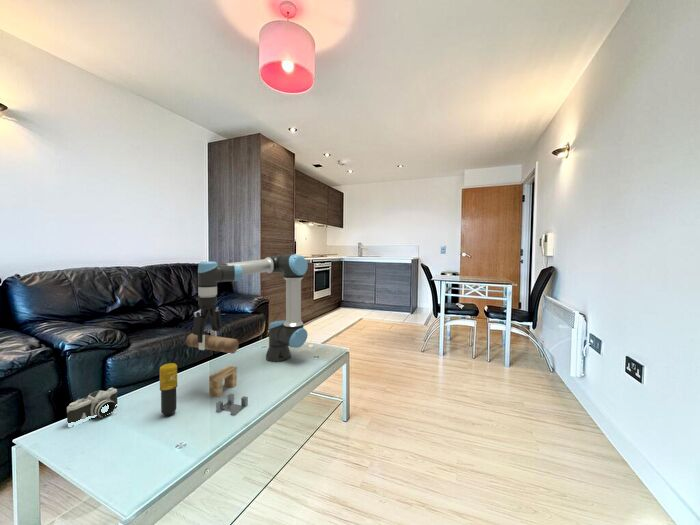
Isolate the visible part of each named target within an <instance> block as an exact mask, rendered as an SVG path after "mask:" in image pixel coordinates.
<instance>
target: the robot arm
mask: <svg viewBox="0 0 700 525" xmlns="http://www.w3.org/2000/svg"><path fill="white" fill-rule="evenodd" d="M308 265H309V264H308V261H307V260H306V258H305V257H304V256H303V255H301V254H295V253H294V254H279V255H273V256H266V257H265V258H264V259H254V260H245V261H237V262H236V261H235V262H226V263H218V262H217V261H200V262H198V268H197V277H198V278H197V280H198V288H197V289H198V293H197V294H198V299H197V301H198V302H197V304H198V306H199V308H198V310H197V311H193V312H192V314H193V330H192V333H193V334H194V335H197V336H198V343H199V348H198V350H199V351H205V350H206V349H205V335H206V334H204V332H205V329H206V328H205V327H206V324H207V321H208V319H209V322H210V327H211V330H210V336H217V337H218V331H220V329H222V316H221V315H222V312H221V311H222V307H220V306H217V304H218V297H217V295H218V283H223V282H224V283H225V282H235V281H237V282H238V281H241V280H242V278H243V276H247V275H255V274H260V273H261V274H263V273H267V274H274V273H275V274H283V275H282V278H283V279H284V280H285V319H284V320H275V321H272V322H270V323H269V325H268V349H267V351H266V354H265V360H266V361H267V362H270V363H283V362H287V361H289V360H291V358H292V353H291V350H290V348H294V349H296V348H297V349H298V348H302V346H303V345H304V344H305V343H306V341H307V339H308V331H307V329H306V328H304V322H303V321H302V280H303V279H304V275H305V274H306V273H307V271H308ZM288 359H289V360H288ZM286 360H287V361H286Z"/></svg>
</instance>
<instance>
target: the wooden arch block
mask: <svg viewBox="0 0 700 525" xmlns="http://www.w3.org/2000/svg"><path fill="white" fill-rule="evenodd" d="M237 368H238V367H237V366H233V365H232V366H231V365H227V366H225V367H223V368H221V369H219V370H218V371H215V372H214V373H212V374H210V375H209V376H208V377H209V378H208V381H209V382H208V388H209V389H208V390H209V391H208V392H209V393H208V394H209V396H210V397H217V398H219V397H220V396H222V395H223V386H224V387H227V388H235V387H237V380H238V377H237V376H238V375H237V373H238V370H237ZM223 380H224V384H223Z"/></svg>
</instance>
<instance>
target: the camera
mask: <svg viewBox="0 0 700 525" xmlns="http://www.w3.org/2000/svg"><path fill="white" fill-rule="evenodd" d="M107 404H108V405H109V409H108V411H107V412H105V413H102V412H101V409H102V407H104V406H105V405H106V406H107ZM116 404H118V389H117V388H114V387H110V388H108V389H106V390H95V391H93V392H90V393H89V394H88V396H86V397H83V398H80V399H79V398H78V399H77V400H75V401H73V402H71V403H69V405H68V406H66V419H67V420H66V423H67V422H68V423H71V422H76V421H78V420H80V419H85V418H86V417H88V416H94V415H97V416H98V417H99V418H103V417H102V416H105V415H107V414H109V413H111V412H112V413H113V412H114V410H115V409H116V408H115V405H116ZM112 413H111V414H112ZM98 417H97V418H98Z"/></svg>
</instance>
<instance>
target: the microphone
mask: <svg viewBox="0 0 700 525" xmlns="http://www.w3.org/2000/svg"><path fill="white" fill-rule="evenodd" d="M177 388H178V365H177V364H176V363H173V362H171V363H165V364H163V365H161V366H160V367H159V391H160V411H161V412H160V413H161V414H162V415H163V416H164V417H166V418H168V417H171V416H173V415H174V414H175V412H176V410H177V407H178V406H177Z"/></svg>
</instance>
